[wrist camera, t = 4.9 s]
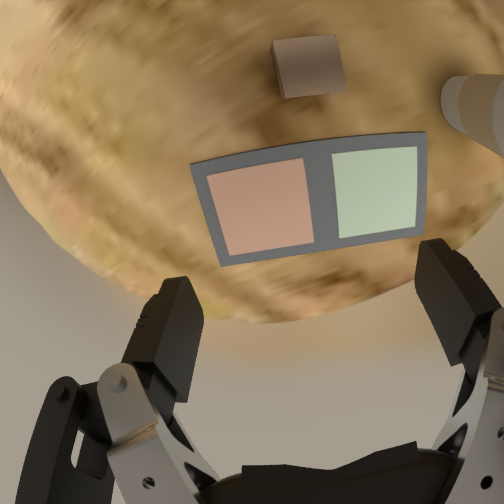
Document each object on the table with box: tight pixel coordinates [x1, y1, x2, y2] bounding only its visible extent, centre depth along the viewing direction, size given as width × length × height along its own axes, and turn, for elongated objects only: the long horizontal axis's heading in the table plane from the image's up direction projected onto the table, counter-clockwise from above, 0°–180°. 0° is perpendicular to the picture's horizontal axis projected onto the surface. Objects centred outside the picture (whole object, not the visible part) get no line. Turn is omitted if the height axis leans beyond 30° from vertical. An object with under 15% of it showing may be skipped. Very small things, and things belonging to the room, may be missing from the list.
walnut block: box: [271, 35, 347, 99], centre depth 21 cm, size 5×5×6 cm
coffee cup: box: [440, 74, 504, 158], centre depth 16 cm, size 9×9×15 cm
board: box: [190, 132, 427, 267], centre depth 30 cm, size 13×26×1 cm, turn 102°
